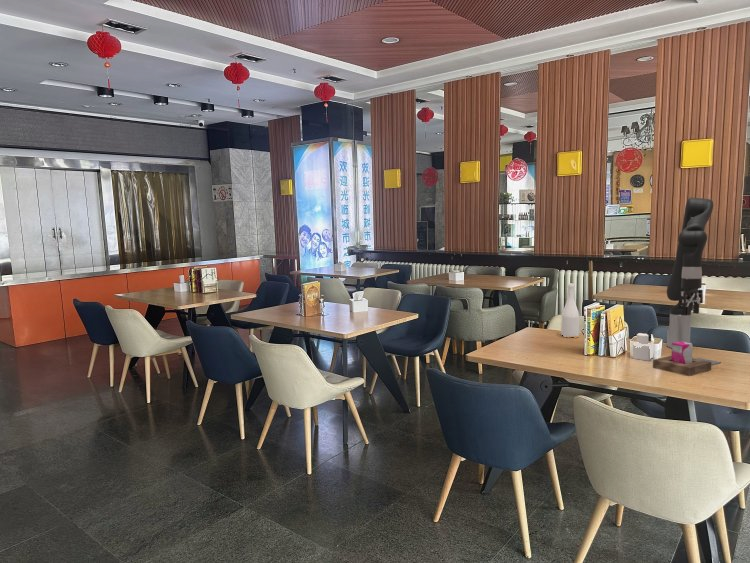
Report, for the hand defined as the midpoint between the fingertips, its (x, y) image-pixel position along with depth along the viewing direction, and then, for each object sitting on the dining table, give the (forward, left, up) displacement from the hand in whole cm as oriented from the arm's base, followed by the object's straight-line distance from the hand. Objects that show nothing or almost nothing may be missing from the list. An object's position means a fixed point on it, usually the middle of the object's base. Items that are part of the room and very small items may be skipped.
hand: (690, 314), depth 232 cm
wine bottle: (-72, +8, -24) cm, 76 cm away
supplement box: (0, -6, -24) cm, 24 cm away
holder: (0, -6, -23) cm, 24 cm away
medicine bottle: (-20, -3, -24) cm, 31 cm away
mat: (-1, +12, -23) cm, 26 cm away
